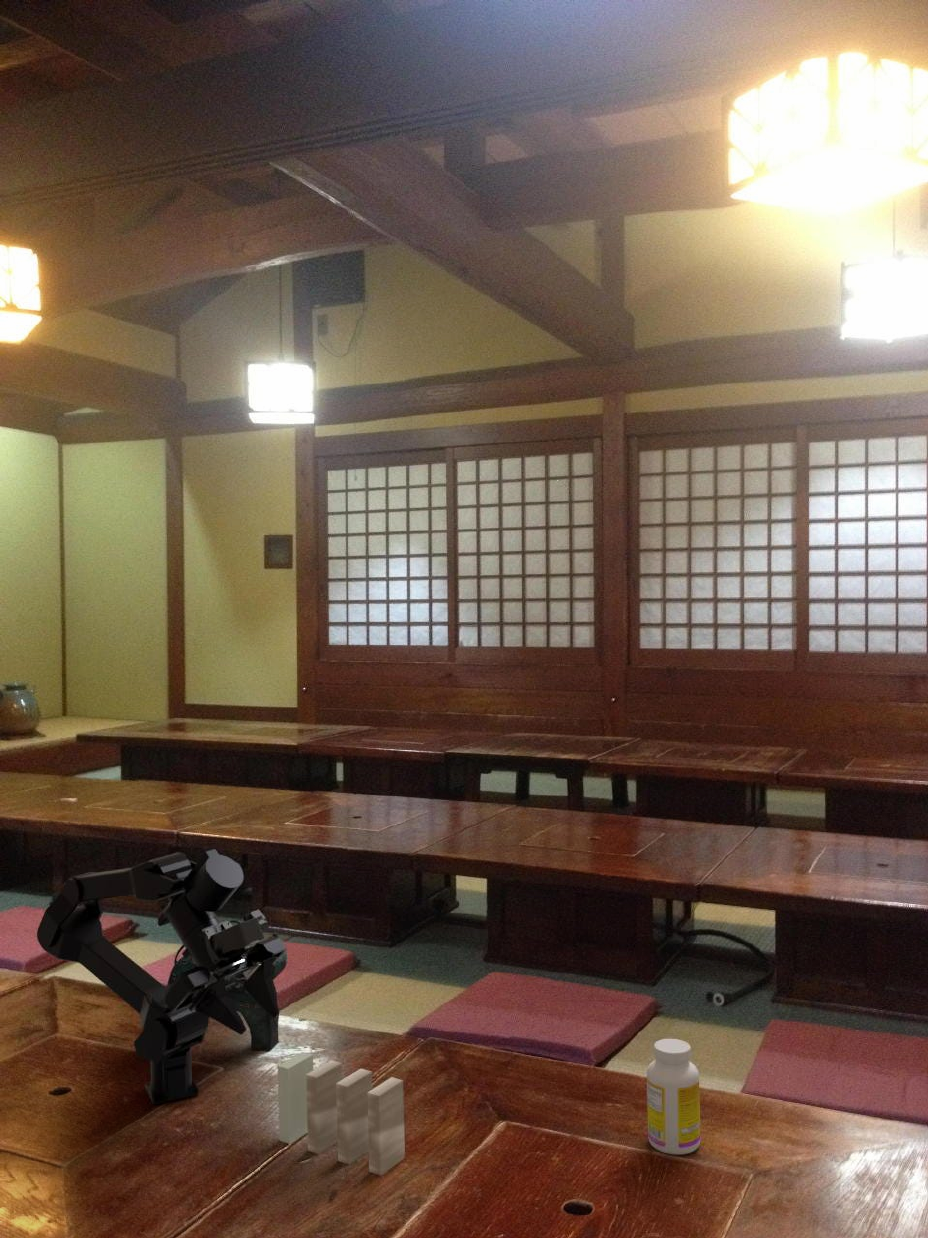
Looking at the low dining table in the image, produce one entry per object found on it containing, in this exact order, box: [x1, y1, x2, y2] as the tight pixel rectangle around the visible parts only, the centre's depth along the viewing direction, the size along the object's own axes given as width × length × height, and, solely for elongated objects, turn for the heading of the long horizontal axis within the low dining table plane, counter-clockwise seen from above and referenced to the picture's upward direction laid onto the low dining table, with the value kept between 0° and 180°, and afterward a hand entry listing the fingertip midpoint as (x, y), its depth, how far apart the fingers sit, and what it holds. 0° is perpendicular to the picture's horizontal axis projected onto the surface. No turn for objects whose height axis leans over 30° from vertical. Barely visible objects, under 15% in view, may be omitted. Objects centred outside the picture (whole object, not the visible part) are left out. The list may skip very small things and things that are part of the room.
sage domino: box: [277, 1051, 314, 1145], centre depth 148 cm, size 2×5×10 cm, turn 147°
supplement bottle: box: [646, 1038, 701, 1156], centre depth 144 cm, size 7×7×13 cm
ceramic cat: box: [166, 919, 288, 1052], centre depth 178 cm, size 20×6×20 cm, turn 77°
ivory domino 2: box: [336, 1068, 373, 1165], centre depth 143 cm, size 2×5×10 cm, turn 147°
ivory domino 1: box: [306, 1059, 343, 1155], centre depth 146 cm, size 2×5×10 cm, turn 147°
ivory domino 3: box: [368, 1076, 406, 1177], centre depth 140 cm, size 2×5×10 cm, turn 147°
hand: (260, 1024), depth 151 cm, fingers open, 6 cm apart
